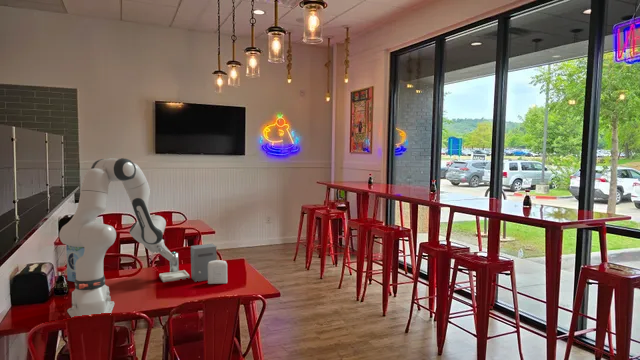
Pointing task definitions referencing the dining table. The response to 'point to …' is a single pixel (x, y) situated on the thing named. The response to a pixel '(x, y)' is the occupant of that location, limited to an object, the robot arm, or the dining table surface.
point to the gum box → (73, 260)
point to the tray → (174, 276)
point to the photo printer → (217, 272)
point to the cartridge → (174, 263)
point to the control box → (201, 260)
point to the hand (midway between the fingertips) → (175, 259)
